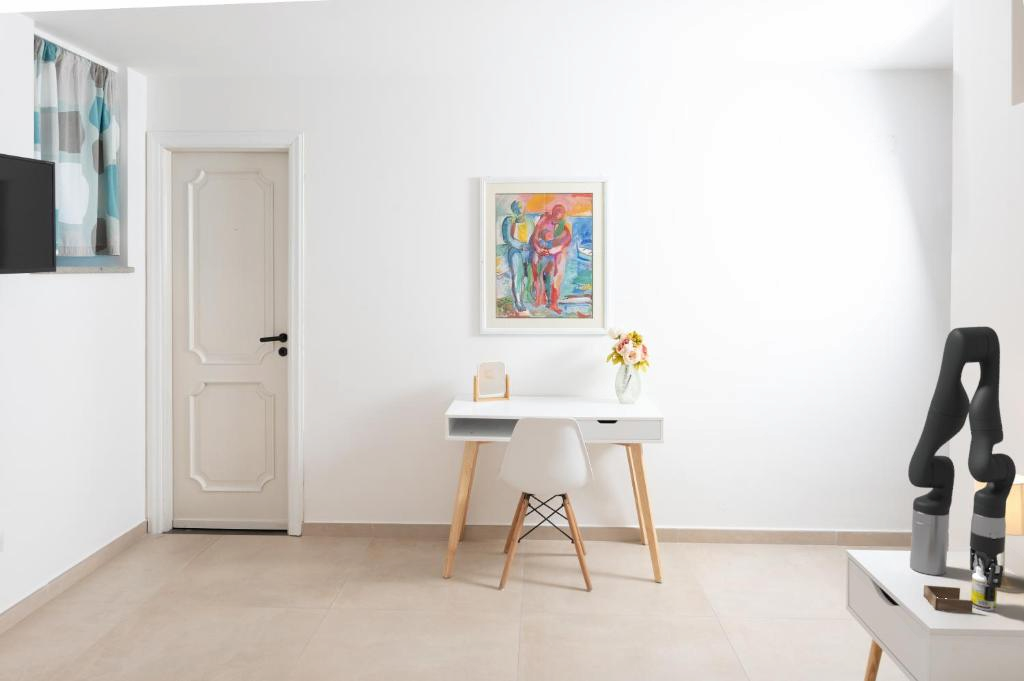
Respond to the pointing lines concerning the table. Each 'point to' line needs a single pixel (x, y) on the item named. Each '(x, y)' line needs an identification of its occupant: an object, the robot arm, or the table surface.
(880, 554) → the table surface
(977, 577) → the supplement bottle
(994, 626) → the table surface
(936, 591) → the walnut u rest
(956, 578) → the table surface
